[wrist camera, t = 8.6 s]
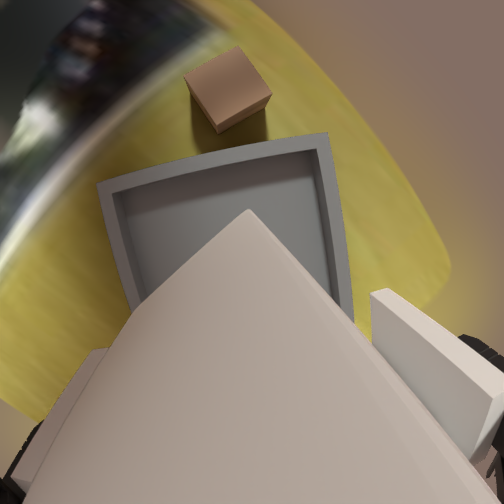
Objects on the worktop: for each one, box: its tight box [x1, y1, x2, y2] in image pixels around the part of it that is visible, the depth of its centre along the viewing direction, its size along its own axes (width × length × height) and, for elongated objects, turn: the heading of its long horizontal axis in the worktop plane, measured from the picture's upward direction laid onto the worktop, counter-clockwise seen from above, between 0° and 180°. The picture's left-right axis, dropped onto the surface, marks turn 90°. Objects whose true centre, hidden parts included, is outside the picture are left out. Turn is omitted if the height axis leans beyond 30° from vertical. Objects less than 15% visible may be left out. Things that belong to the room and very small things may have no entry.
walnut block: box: [183, 46, 273, 135], centre depth 19 cm, size 4×4×4 cm
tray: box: [96, 132, 354, 323], centre depth 22 cm, size 16×16×2 cm
